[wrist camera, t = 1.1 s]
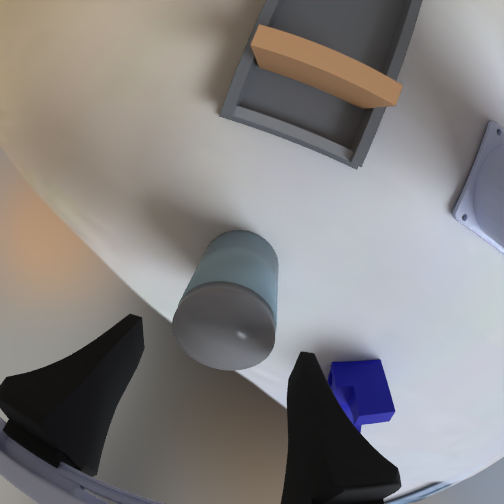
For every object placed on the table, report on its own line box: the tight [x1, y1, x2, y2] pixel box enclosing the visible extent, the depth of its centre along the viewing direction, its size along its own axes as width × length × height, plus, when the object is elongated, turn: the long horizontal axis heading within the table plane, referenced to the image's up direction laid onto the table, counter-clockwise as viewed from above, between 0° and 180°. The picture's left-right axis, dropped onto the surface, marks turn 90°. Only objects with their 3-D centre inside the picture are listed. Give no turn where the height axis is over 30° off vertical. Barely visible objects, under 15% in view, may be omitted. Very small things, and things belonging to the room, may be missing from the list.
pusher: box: [251, 24, 403, 109], centre depth 11 cm, size 6×1×5 cm, turn 70°
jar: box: [172, 230, 278, 370], centre depth 16 cm, size 5×5×7 cm
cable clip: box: [327, 360, 395, 432], centre depth 23 cm, size 12×4×6 cm, turn 1°
